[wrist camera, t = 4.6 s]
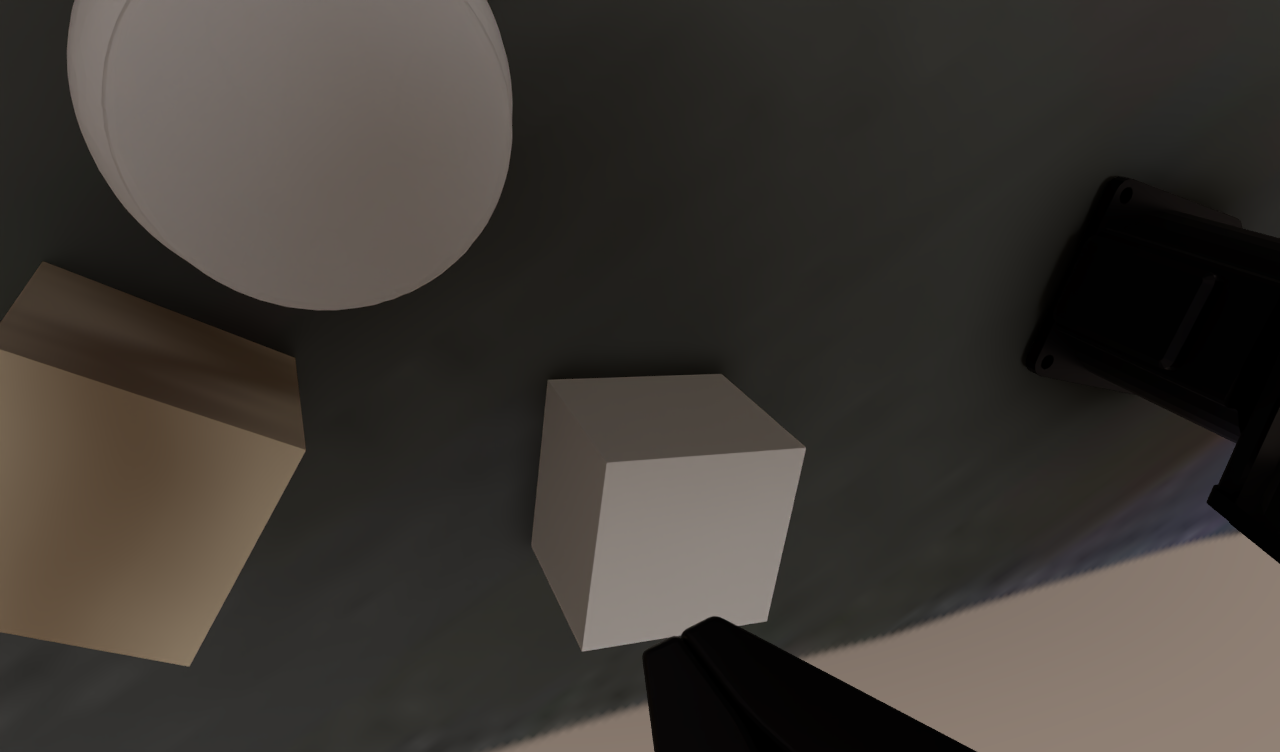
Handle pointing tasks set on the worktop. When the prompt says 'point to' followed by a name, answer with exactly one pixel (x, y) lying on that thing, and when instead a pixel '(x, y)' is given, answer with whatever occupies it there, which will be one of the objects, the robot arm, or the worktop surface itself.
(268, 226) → the pill bottle
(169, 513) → the birch block
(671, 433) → the grey block
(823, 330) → the worktop surface
